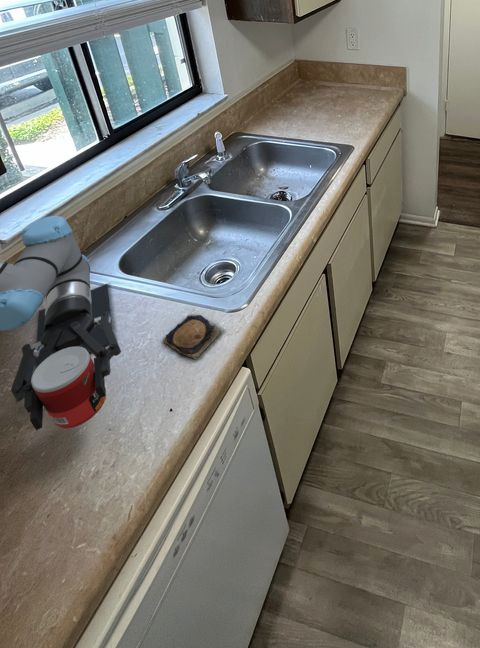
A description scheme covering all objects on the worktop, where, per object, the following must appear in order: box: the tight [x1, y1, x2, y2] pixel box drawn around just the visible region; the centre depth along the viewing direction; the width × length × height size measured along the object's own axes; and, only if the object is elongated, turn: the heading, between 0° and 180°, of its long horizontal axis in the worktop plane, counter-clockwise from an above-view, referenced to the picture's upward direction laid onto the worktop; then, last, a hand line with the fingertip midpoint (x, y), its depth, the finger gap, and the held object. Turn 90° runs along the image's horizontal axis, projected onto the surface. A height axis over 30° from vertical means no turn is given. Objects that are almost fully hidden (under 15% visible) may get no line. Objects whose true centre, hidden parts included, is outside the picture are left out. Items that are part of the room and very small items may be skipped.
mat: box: [35, 283, 113, 367], centre depth 102 cm, size 14×20×1 cm
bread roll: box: [163, 314, 222, 360], centre depth 98 cm, size 11×8×4 cm
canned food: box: [31, 346, 107, 429], centre depth 75 cm, size 8×8×11 cm
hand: (69, 407), depth 71 cm, fingers closed on canned food, 8 cm apart
